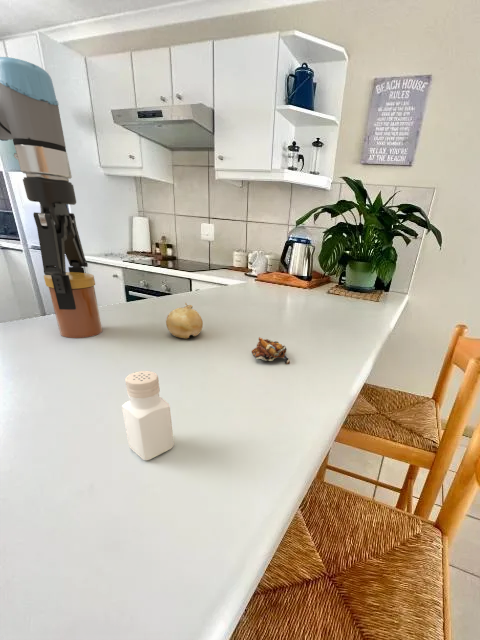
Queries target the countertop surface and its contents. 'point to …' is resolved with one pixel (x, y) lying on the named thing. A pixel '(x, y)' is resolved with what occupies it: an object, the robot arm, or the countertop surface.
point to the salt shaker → (147, 416)
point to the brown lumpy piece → (270, 350)
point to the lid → (74, 280)
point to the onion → (184, 322)
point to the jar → (78, 314)
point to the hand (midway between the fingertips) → (75, 303)
